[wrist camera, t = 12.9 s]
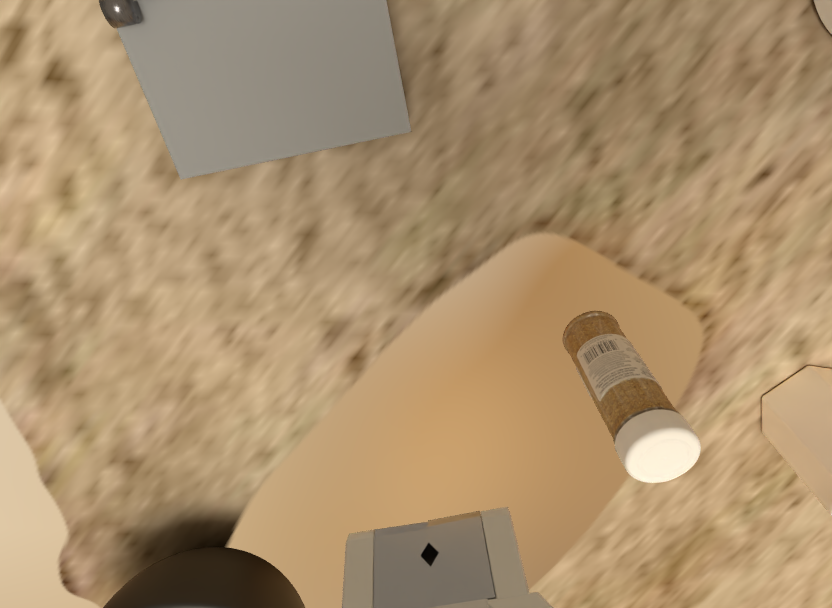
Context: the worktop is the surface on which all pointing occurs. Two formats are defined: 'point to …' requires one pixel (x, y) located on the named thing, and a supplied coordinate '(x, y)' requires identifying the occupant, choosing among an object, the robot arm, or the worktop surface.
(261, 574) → the coal bowl
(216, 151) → the stand
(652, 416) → the sprinkles bottle
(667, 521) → the worktop surface
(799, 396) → the jar
